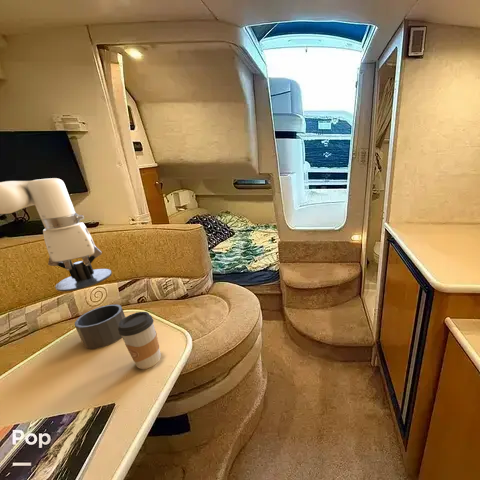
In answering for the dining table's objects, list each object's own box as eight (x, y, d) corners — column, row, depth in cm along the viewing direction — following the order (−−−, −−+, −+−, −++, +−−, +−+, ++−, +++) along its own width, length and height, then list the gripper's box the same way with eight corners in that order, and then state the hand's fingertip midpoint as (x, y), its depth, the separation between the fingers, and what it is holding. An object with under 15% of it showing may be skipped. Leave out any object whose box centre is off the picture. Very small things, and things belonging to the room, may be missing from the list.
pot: (85, 355, 84) (75, 332, 81) (82, 336, 93) (73, 316, 90) (132, 334, 92) (124, 314, 89) (125, 319, 101) (118, 300, 98)
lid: (56, 298, 75) (46, 277, 73) (56, 283, 85) (48, 263, 83) (115, 280, 84) (108, 261, 82) (109, 268, 94) (103, 250, 91)
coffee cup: (126, 368, 78) (108, 326, 72) (151, 348, 85) (137, 308, 80) (146, 375, 75) (130, 331, 70) (171, 354, 82) (158, 313, 77)
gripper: (97, 214, 85) (116, 266, 91) (27, 225, 77) (53, 281, 83) (94, 218, 79) (114, 274, 85) (18, 230, 71) (47, 291, 77)
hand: (84, 277), depth 84 cm, fingers closed on lid, 2 cm apart
